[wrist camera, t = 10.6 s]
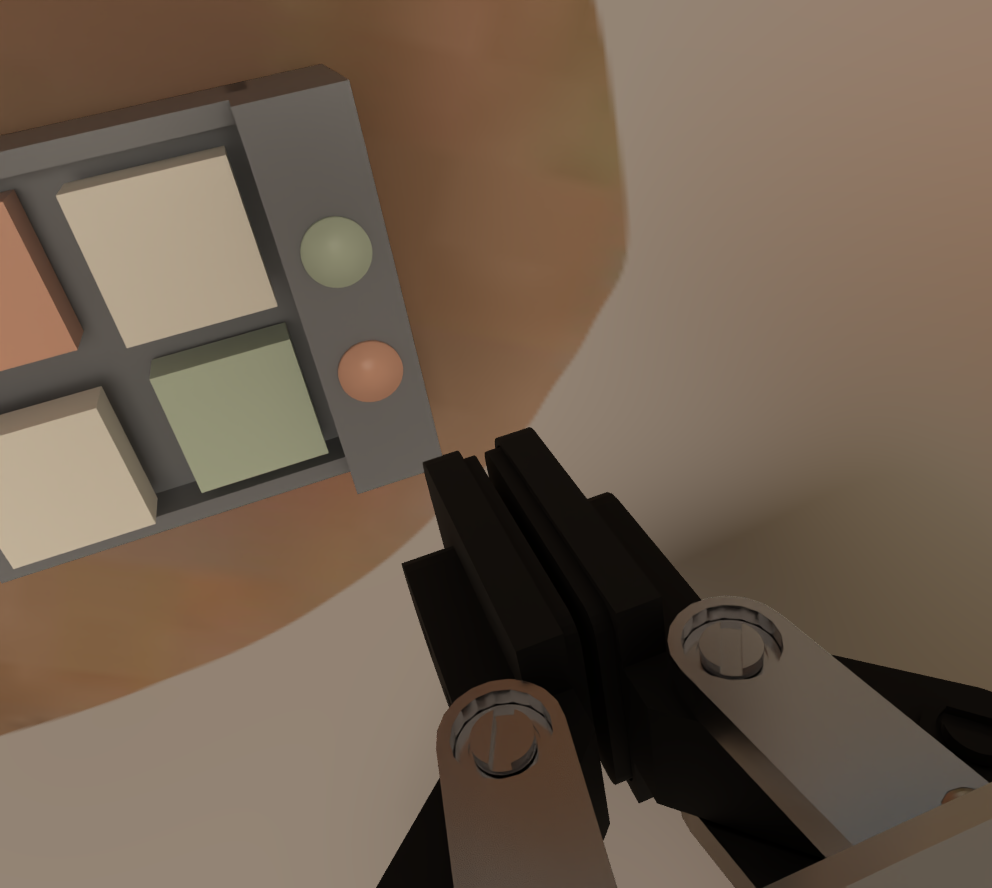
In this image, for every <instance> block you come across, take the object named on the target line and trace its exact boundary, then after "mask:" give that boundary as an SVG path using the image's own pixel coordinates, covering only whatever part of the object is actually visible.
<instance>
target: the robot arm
mask: <svg viewBox="0 0 992 888" xmlns="http://www.w3.org/2000/svg"><path fill="white" fill-rule="evenodd" d="M485 461H486V466H487V470H488V475H489V477H488V475H487V474H486V472H485V470H484V469H483V467H482V465H481V464H480V462H479V460H478V459H477V457H476V456H471V457H468V458H465V459H463V457H462V455H461V454H460V452H459V451H455V452H452V453H449V454H446V455H443V456H439V457H436V458H433V459H430V460H427V461H424V462H423V469H424V473H425V477H426V481H427V485H428V488H429V492H430V496H431V500H432V503H433V507H434V511H435V515H436V518H437V522H438V525H439V530H440V533H441V537H442V541H443V545H444V548H445V549H442V550H439V551H436V552H433V553H431V554H428V555H425V556H422V557H419V558H417V559H413V560H410V561H408V562H404V563H402V567H403V571H404V574H405V578H406V581H407V584H408V587H409V590H410V594H411V597H412V600H413V603H414V607H415V610H416V613H417V616H418V619H419V622H420V625H421V628H422V631H423V634H424V637H425V640H426V643H427V646H428V649H429V652H430V655H431V658H432V661H433V663H434V666H435V669H436V672H437V675H438V678H439V680H440V683H441V686H442V688H443V692H444V695H445V697H446V700H447V703H448V706H449V709H448V710H447V711H446V712H445V714H444V716H443V718H442V720H441V723H440V725H439V728H438V730H437V742H436V751H437V760H438V767H439V775H440V778H439V780H438V782H437V783H436V785H435V787H434V789H433V790H432V792H431V794H430V795H429V797H428V799H427V800H426V802H425V804H424V806H423V807H422V809H421V811H420V813H419V814H418V816H417V818H416V820H415V821H414V823H413V825H412V826H411V828H410V830H409V832H408V833H407V835H406V837H405V839H404V840H403V842H402V844H401V845H400V847H399V849H398V851H397V852H396V854H395V856H394V858H393V859H392V861H391V863H390V865H389V866H388V868H387V870H386V871H385V873H384V875H383V877H382V878H381V880H380V882H379V884H378V885H377V887H376V888H617V885H616V882H615V878H614V875H613V872H612V869H611V865H610V862H609V859H608V855H607V852H606V849H605V846H604V842H603V840H604V838H605V835H606V833H607V830H608V827H609V825H610V821H609V814H608V808H607V801H606V795H605V789H604V782H603V776H602V769H601V763H602V765H603V767H604V769H605V770H606V772H607V774H608V776H609V778H610V780H611V781H612V782H613V784H615V785H616V784H618V783H620V782H623V781H627V782H628V784H629V786H630V788H631V790H632V792H633V794H634V795H635V797H636V799H637V801H638V803H641V802H643V801H646V800H648V799H650V798H652V797H654V799H655V800H656V802H657V803H658V804H661V805H664V806H667V807H670V808H674V809H676V810H679V811H681V814H682V818H683V820H684V821H685V823H686V825H687V827H688V828H689V830H690V832H691V833H692V834H693V836H694V837H695V838H696V839H697V840H698V842H699V843H700V844H701V846H702V847H703V848H704V849H705V851H706V852H707V853H708V855H709V856H710V857H711V858H712V860H713V861H714V862H715V863H716V865H717V866H718V867H719V868H720V870H721V871H722V872H723V873H724V874H725V876H726V877H727V878H728V880H729V881H730V882H731V883H732V885H733V886H734V887H735V888H992V692H991V691H988V690H985V689H982V688H978V687H973V686H969V685H965V684H961V683H956V682H951V681H947V680H943V679H938V678H933V677H929V676H924V675H920V674H916V673H911V672H907V671H902V670H898V669H893V668H888V667H884V666H879V665H875V664H870V663H866V662H862V661H857V660H853V659H848V658H844V657H839V656H835V655H830V654H829V653H828V652H827V651H826V650H824V649H823V648H822V647H821V646H819V645H818V644H817V643H815V642H814V641H813V640H812V639H811V638H809V637H808V636H807V635H805V634H804V633H803V632H802V631H801V630H799V629H798V628H797V627H795V625H793V624H792V623H791V622H790V621H788V620H787V619H786V618H784V617H783V616H782V615H781V614H780V613H778V612H776V611H775V610H773V609H772V608H770V607H768V606H767V605H765V604H763V603H760V602H757V601H754V600H751V599H748V598H744V597H733V596H720V597H712V598H706V599H704V600H701V599H700V598H699V597H698V595H697V594H696V593H695V592H694V591H693V589H692V588H691V587H690V586H689V584H688V583H687V582H686V581H685V580H684V578H683V577H682V576H681V575H680V574H679V572H678V571H677V570H676V569H675V568H674V566H673V565H672V564H671V563H670V562H669V560H668V559H667V558H666V557H665V556H664V554H663V553H662V552H661V551H660V550H659V548H658V547H657V546H656V545H655V543H654V542H653V541H652V540H651V539H650V538H649V537H648V535H647V534H646V533H645V531H644V530H643V529H642V528H641V527H640V526H639V524H638V523H637V522H636V521H635V519H634V518H633V517H632V516H631V515H630V513H629V512H628V511H627V510H626V509H625V507H624V506H623V505H622V504H621V503H620V501H619V500H618V499H617V498H616V497H615V496H614V495H613V494H612V493H608V492H606V493H603V494H600V495H597V496H595V497H592V498H589V499H587V498H586V497H585V496H584V495H583V493H582V492H581V491H580V489H579V488H578V487H577V485H576V484H575V483H574V481H573V480H572V479H571V478H570V476H569V475H568V474H567V472H566V471H565V470H564V469H563V467H562V466H561V465H560V463H559V462H558V461H557V459H556V458H555V457H554V456H553V454H552V453H551V452H550V450H549V449H548V448H547V447H546V445H545V444H544V442H543V441H542V440H541V439H540V437H539V436H538V435H537V433H536V432H535V431H534V430H533V429H532V428H530V427H529V428H526V429H523V430H520V431H516V432H513V433H510V434H507V435H504V436H501V437H498V438H496V439H495V449H492V450H489V451H486V452H485ZM600 761H601V763H600Z"/></svg>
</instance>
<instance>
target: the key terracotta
mask: <svg viewBox="0 0 992 888" xmlns="http://www.w3.org/2000/svg"><path fill="white" fill-rule="evenodd" d="M83 332H84V330H83V328H82V326H81V324H80V322H79V320H78V318H77V316H76V314H75V312H74V310H73V308H72V306H71V304H70V302H69V300H68V298H67V296H66V294H65V292H64V290H63V288H62V286H61V284H60V282H59V280H58V278H57V276H56V274H55V272H54V270H53V268H52V266H51V264H50V262H49V260H48V258H47V255H46V253H45V251H44V249H43V247H42V245H41V243H40V241H39V239H38V237H37V235H36V233H35V231H34V229H33V227H32V225H31V223H30V221H29V219H28V217H27V215H26V213H25V211H24V209H23V207H22V205H21V203H20V201H19V199H18V197H17V195H16V193H15V191H14V189H13V190H9V191H5V192H0V371H3V370H7V369H10V368H14V367H18V366H21V365H25V364H28V363H32V362H36V361H39V360H43V359H47V358H50V357H54V356H57V355H61V354H65V353H68V352H72V351H76V350H78V347H79V344H80V341H81V338H82V335H83Z"/></svg>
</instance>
